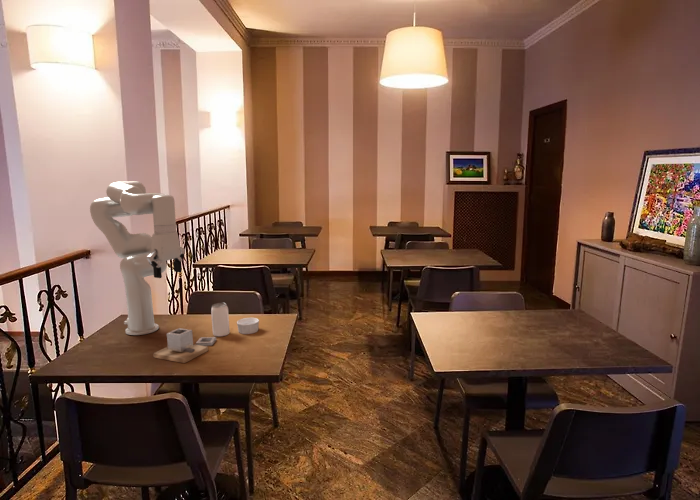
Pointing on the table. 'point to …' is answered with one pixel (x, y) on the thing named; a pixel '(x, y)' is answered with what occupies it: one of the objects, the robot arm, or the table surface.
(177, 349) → the link
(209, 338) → the link
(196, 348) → the base
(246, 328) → the ramekin
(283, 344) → the table surface
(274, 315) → the table surface
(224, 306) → the can
